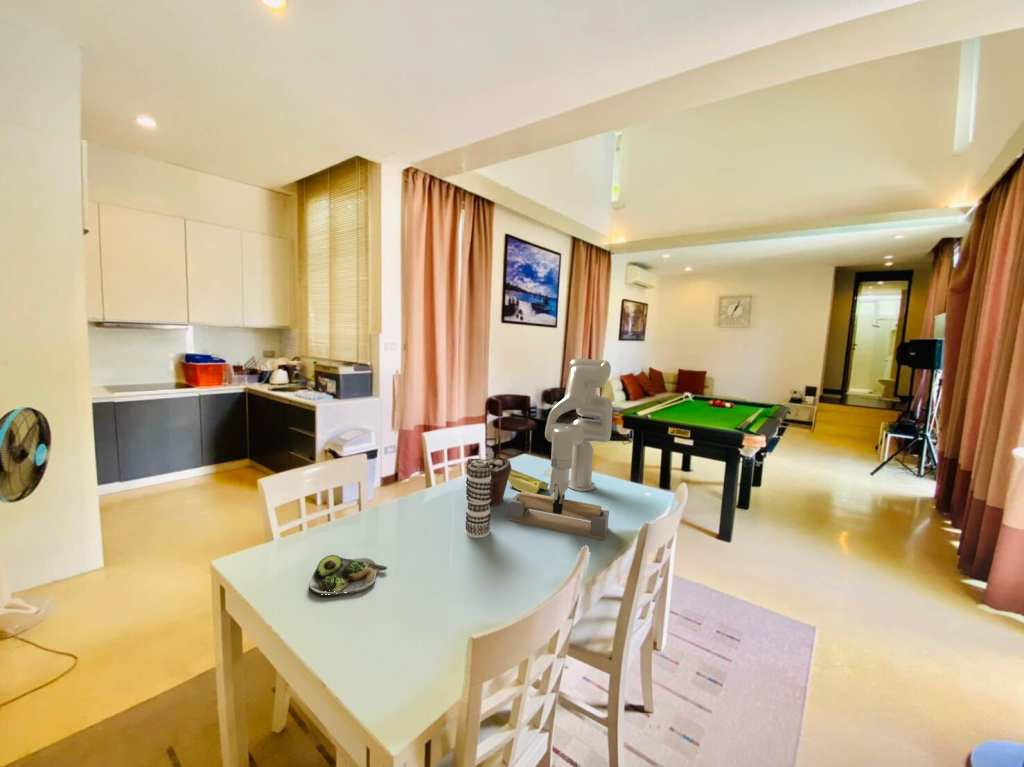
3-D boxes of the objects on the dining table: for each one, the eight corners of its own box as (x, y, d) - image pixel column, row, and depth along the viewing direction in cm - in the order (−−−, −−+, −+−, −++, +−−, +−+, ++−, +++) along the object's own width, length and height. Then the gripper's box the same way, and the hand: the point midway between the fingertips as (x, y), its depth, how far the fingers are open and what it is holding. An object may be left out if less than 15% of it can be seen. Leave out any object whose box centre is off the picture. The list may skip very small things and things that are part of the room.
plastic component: (550, 484, 187) (540, 480, 180) (545, 500, 186) (534, 496, 178) (516, 470, 199) (505, 466, 191) (510, 485, 198) (499, 481, 190)
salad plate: (388, 558, 127) (389, 544, 126) (384, 594, 110) (384, 577, 109) (320, 563, 122) (320, 548, 122) (304, 601, 105) (304, 584, 105)
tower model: (458, 533, 143) (461, 463, 140) (473, 523, 151) (476, 456, 148) (481, 541, 139) (484, 468, 136) (495, 530, 147) (498, 461, 144)
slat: (521, 503, 159) (521, 491, 159) (600, 519, 149) (601, 505, 148) (518, 506, 157) (519, 493, 156) (599, 522, 146) (600, 509, 146)
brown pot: (519, 497, 176) (520, 456, 174) (492, 514, 160) (493, 468, 158) (485, 488, 186) (485, 449, 184) (456, 503, 169) (456, 460, 167)
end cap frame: (517, 510, 164) (518, 492, 163) (608, 528, 152) (609, 509, 151) (508, 520, 155) (509, 502, 154) (603, 540, 143) (605, 520, 142)
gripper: (557, 455, 159) (554, 501, 162) (545, 467, 144) (542, 518, 146) (576, 458, 157) (573, 505, 159) (566, 470, 142) (563, 522, 144)
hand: (558, 510), depth 153 cm, fingers closed on slat, 3 cm apart
